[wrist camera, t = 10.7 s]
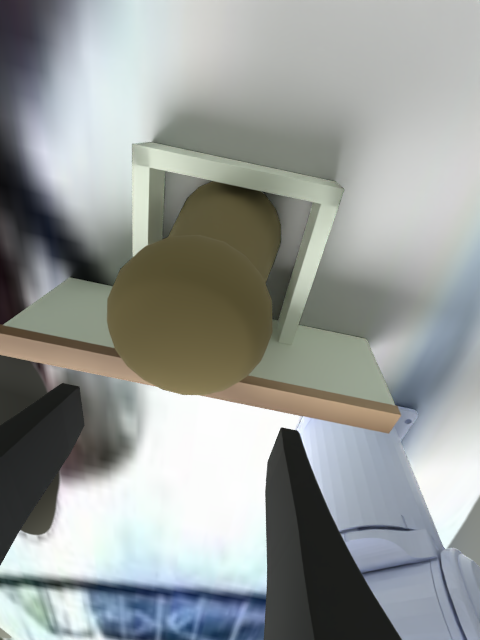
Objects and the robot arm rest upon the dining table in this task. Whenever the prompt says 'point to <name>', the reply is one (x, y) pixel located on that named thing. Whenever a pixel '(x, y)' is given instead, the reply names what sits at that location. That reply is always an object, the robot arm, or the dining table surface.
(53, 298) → the stand
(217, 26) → the dining table surface
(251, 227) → the cork
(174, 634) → the dining table surface
